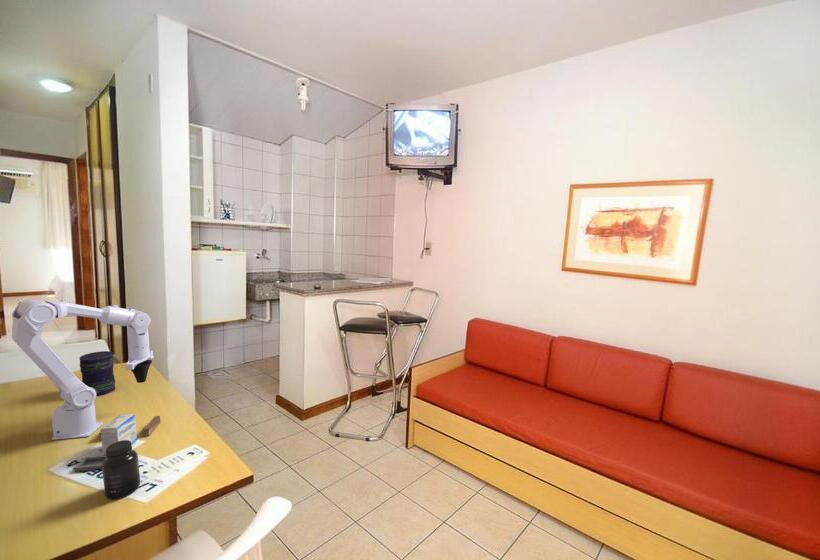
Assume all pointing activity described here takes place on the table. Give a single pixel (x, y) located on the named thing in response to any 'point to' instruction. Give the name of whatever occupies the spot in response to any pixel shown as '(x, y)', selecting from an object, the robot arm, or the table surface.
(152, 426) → the lane wall right
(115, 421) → the medicine box
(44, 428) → the table surface
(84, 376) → the storage jar
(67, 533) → the table surface
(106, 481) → the supplement bottle
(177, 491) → the table surface
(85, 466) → the dark grey flat tray
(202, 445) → the table surface
